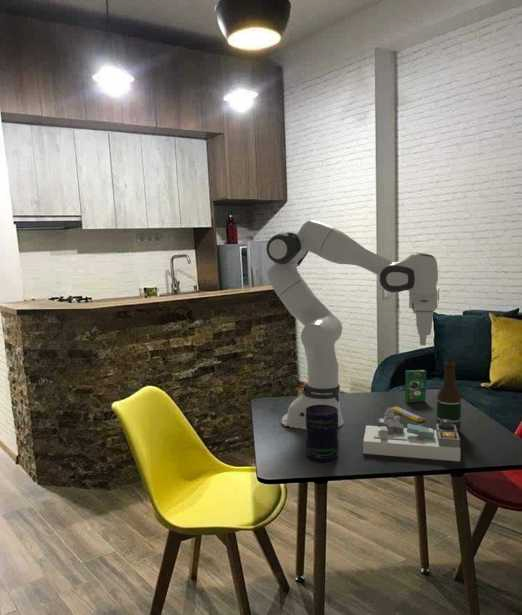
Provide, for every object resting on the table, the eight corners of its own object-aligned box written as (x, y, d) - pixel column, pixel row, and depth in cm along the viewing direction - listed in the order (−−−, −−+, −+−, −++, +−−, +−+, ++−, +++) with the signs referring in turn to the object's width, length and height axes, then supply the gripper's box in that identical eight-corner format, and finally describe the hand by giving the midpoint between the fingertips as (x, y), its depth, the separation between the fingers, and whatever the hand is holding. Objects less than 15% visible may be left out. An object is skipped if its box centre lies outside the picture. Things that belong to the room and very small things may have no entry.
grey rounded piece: (379, 425, 178) (379, 404, 177) (396, 423, 179) (396, 402, 178) (386, 431, 173) (386, 408, 172) (403, 429, 174) (403, 406, 173)
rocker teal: (406, 432, 155) (407, 427, 154) (406, 427, 159) (407, 422, 159) (433, 438, 153) (434, 433, 153) (432, 433, 157) (433, 428, 157)
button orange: (442, 444, 149) (442, 436, 149) (441, 439, 153) (441, 431, 152) (455, 445, 148) (455, 436, 148) (454, 440, 152) (454, 432, 151)
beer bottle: (462, 435, 166) (464, 365, 164) (438, 434, 168) (439, 365, 165) (458, 427, 174) (459, 360, 171) (435, 426, 176) (436, 359, 173)
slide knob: (380, 438, 154) (380, 429, 154) (380, 434, 157) (380, 426, 157) (386, 438, 154) (386, 430, 153) (386, 435, 157) (386, 426, 156)
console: (363, 453, 154) (363, 432, 154) (366, 436, 168) (366, 417, 167) (460, 461, 147) (460, 439, 146) (455, 443, 160) (455, 423, 159)
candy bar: (427, 422, 181) (427, 417, 181) (418, 424, 179) (418, 419, 179) (397, 409, 196) (397, 405, 196) (388, 411, 195) (388, 406, 195)
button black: (440, 430, 156) (440, 422, 155) (439, 426, 159) (440, 418, 159) (453, 431, 155) (453, 423, 154) (451, 427, 158) (452, 419, 158)
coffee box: (423, 400, 206) (423, 369, 205) (426, 402, 203) (426, 370, 202) (404, 401, 205) (404, 370, 204) (407, 403, 202) (407, 371, 201)
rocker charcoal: (377, 426, 160) (378, 421, 160) (378, 422, 164) (379, 417, 164) (402, 433, 158) (403, 428, 158) (402, 428, 162) (403, 423, 162)
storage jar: (335, 449, 158) (335, 404, 156) (341, 463, 148) (341, 414, 146) (304, 451, 158) (303, 405, 156) (308, 464, 148) (307, 415, 146)
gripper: (412, 299, 173) (412, 338, 175) (414, 306, 154) (413, 350, 155) (431, 299, 172) (430, 339, 173) (435, 306, 152) (435, 350, 154)
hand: (422, 344), depth 164 cm, fingers closed
